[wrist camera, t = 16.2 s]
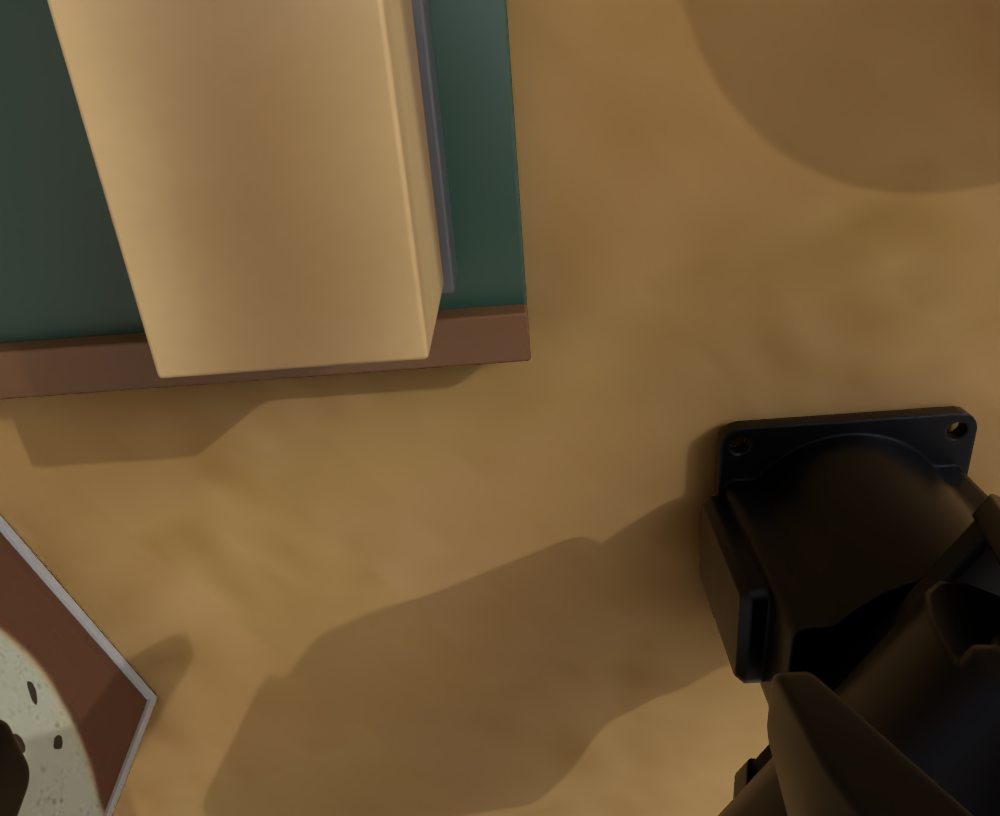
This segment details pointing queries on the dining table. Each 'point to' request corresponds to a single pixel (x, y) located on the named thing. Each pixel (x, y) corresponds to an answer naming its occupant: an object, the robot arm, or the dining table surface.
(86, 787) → the food container
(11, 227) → the slate board
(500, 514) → the dining table surface
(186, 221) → the eraser
